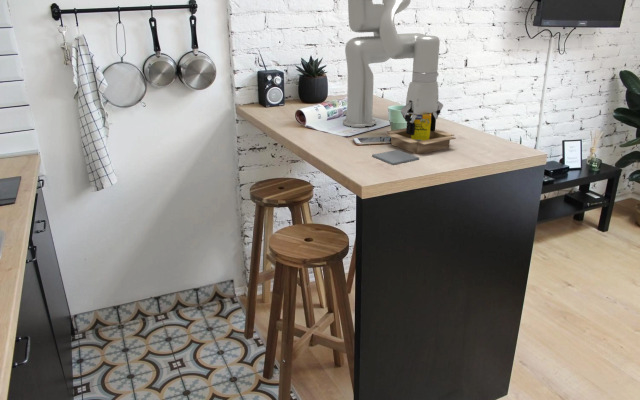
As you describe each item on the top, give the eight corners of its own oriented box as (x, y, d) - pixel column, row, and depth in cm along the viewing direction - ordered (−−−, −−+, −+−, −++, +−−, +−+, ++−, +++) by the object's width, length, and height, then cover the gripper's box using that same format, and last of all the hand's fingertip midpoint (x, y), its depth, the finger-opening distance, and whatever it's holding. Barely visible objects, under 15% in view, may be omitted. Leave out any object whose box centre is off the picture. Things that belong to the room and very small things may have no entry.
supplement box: (428, 149, 166) (431, 115, 162) (409, 148, 167) (412, 114, 163) (429, 144, 171) (431, 111, 167) (410, 143, 172) (412, 110, 168)
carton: (380, 143, 172) (380, 132, 171) (421, 135, 181) (422, 125, 179) (417, 157, 158) (417, 145, 156) (460, 148, 166) (461, 136, 165)
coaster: (372, 156, 159) (372, 154, 158) (397, 151, 164) (397, 149, 163) (392, 165, 151) (393, 163, 151) (419, 159, 156) (419, 157, 155)
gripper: (436, 73, 168) (432, 126, 175) (394, 78, 160) (392, 133, 166) (453, 76, 162) (448, 131, 169) (411, 81, 154) (407, 139, 160)
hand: (420, 132), depth 167 cm, fingers closed on supplement box, 8 cm apart
